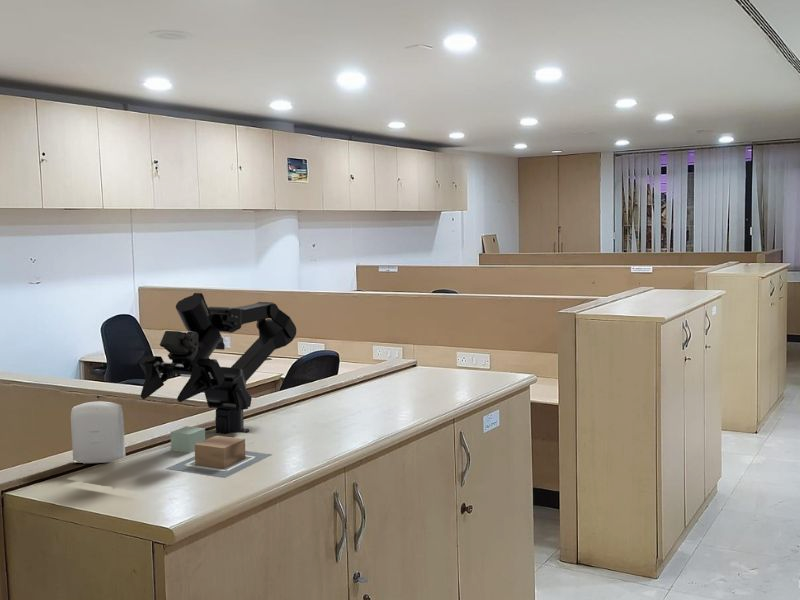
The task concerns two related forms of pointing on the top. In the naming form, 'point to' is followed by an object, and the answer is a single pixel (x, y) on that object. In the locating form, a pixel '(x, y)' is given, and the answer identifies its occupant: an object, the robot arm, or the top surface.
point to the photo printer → (97, 432)
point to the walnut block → (220, 451)
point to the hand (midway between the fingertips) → (160, 399)
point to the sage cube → (186, 438)
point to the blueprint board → (219, 472)
